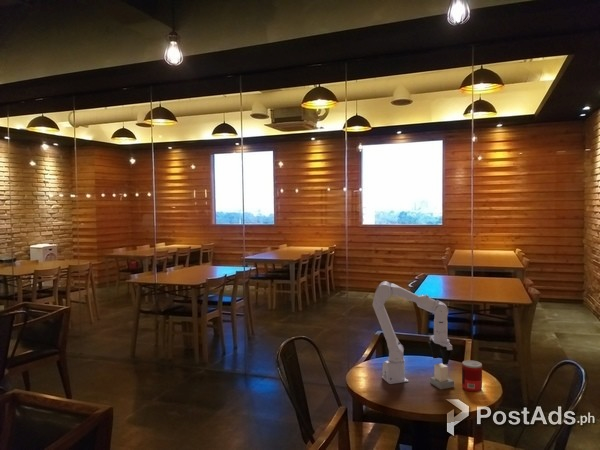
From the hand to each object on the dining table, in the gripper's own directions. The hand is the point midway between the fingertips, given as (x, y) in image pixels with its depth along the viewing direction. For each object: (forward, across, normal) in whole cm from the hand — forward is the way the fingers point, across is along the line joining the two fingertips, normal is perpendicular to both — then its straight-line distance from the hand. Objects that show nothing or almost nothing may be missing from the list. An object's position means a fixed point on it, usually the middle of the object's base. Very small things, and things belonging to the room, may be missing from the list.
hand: (440, 361), depth 193 cm
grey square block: (+10, -2, 0) cm, 11 cm away
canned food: (+10, -8, -10) cm, 17 cm away
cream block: (+7, -2, +1) cm, 8 cm away
